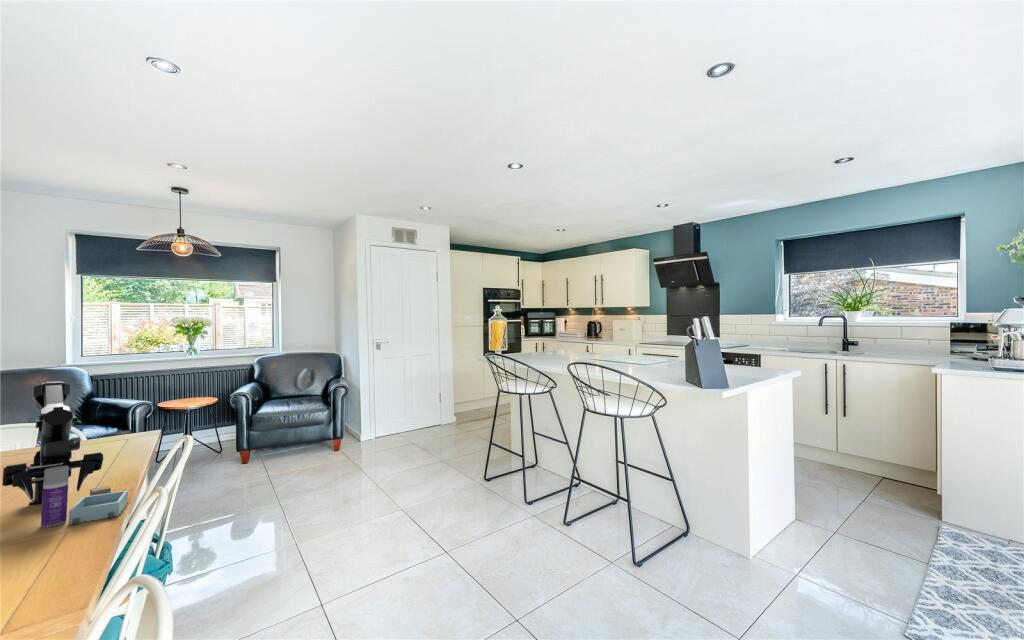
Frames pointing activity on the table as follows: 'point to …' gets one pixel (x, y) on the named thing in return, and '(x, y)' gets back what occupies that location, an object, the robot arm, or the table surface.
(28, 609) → the table surface
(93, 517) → the cart
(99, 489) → the walnut block
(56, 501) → the container
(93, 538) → the table surface
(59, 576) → the table surface
